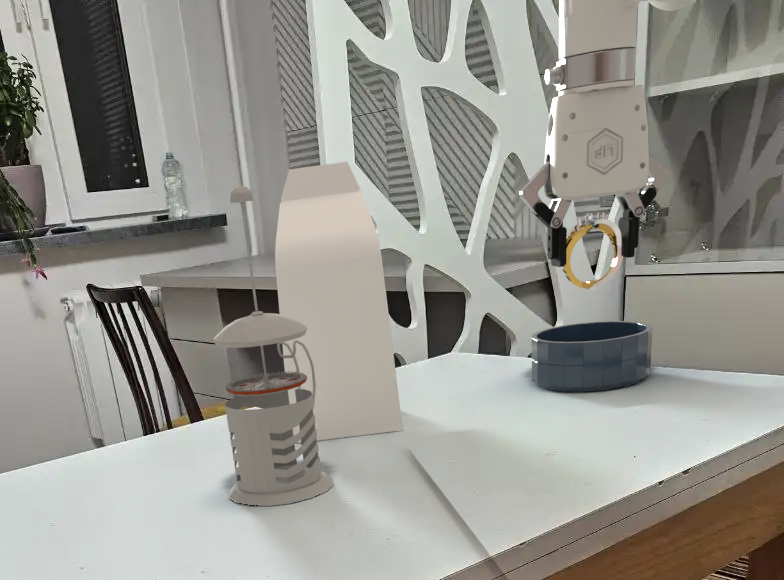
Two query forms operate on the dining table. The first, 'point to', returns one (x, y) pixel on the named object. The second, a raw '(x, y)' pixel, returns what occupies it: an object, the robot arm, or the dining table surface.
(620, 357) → the bowl
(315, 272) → the milk
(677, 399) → the dining table surface
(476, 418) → the dining table surface
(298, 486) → the french press
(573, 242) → the ring
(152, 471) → the dining table surface
